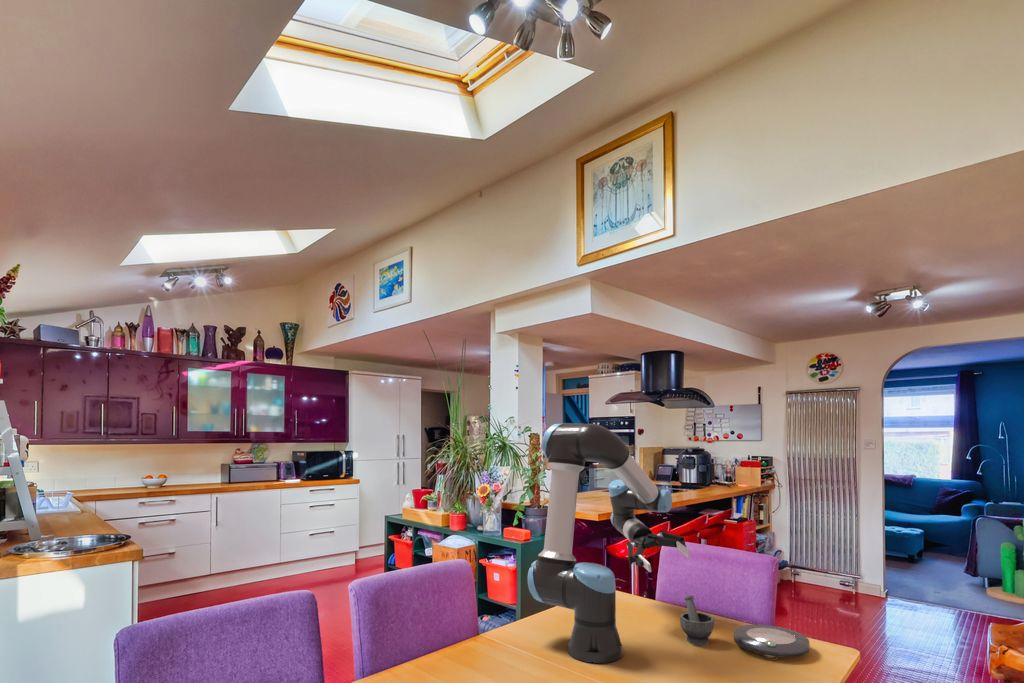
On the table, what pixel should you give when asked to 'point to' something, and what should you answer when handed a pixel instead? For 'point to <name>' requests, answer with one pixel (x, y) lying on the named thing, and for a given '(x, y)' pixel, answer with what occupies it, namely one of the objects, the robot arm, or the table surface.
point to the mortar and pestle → (696, 624)
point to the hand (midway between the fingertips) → (669, 561)
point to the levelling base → (771, 641)
